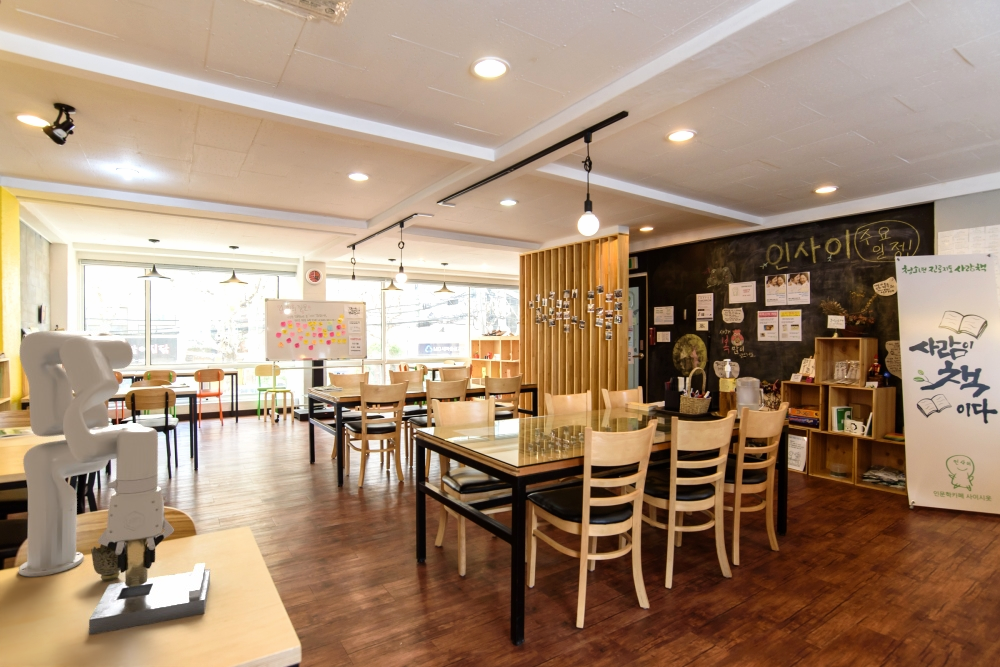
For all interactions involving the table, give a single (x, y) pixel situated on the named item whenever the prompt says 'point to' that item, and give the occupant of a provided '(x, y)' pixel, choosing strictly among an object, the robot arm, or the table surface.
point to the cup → (105, 562)
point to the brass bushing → (136, 562)
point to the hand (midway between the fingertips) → (136, 567)
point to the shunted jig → (152, 601)
